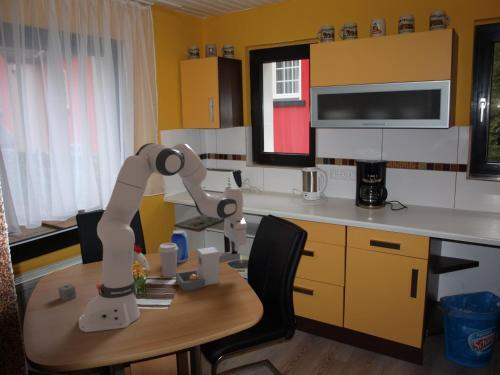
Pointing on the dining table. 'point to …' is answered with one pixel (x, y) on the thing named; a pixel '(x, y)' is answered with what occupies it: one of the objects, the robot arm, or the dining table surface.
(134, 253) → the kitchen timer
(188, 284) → the tray
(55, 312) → the dining table surface
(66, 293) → the grey cube with hole
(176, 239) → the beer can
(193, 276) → the copper ball
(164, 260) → the coffee cup
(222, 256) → the shaft
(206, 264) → the block
